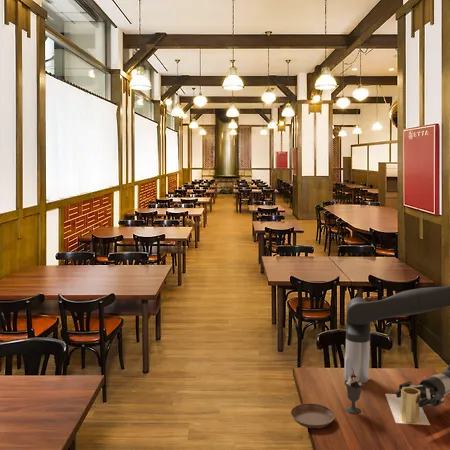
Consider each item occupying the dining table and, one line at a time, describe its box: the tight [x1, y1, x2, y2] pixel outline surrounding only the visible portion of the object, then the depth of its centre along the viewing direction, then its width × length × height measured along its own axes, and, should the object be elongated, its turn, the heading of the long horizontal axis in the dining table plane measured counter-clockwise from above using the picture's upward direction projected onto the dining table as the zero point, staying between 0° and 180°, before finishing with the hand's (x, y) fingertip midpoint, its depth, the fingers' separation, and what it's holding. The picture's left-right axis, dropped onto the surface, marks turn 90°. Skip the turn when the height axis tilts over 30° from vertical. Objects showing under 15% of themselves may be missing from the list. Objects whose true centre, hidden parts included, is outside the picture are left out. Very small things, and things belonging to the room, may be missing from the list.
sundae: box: [343, 368, 365, 415], centre depth 187 cm, size 7×7×15 cm
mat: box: [385, 393, 431, 426], centre depth 187 cm, size 11×22×1 cm, turn 173°
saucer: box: [290, 402, 336, 429], centre depth 181 cm, size 15×15×3 cm
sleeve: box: [400, 387, 421, 425], centre depth 179 cm, size 6×6×10 cm
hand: (408, 399), depth 178 cm, fingers open, 8 cm apart
